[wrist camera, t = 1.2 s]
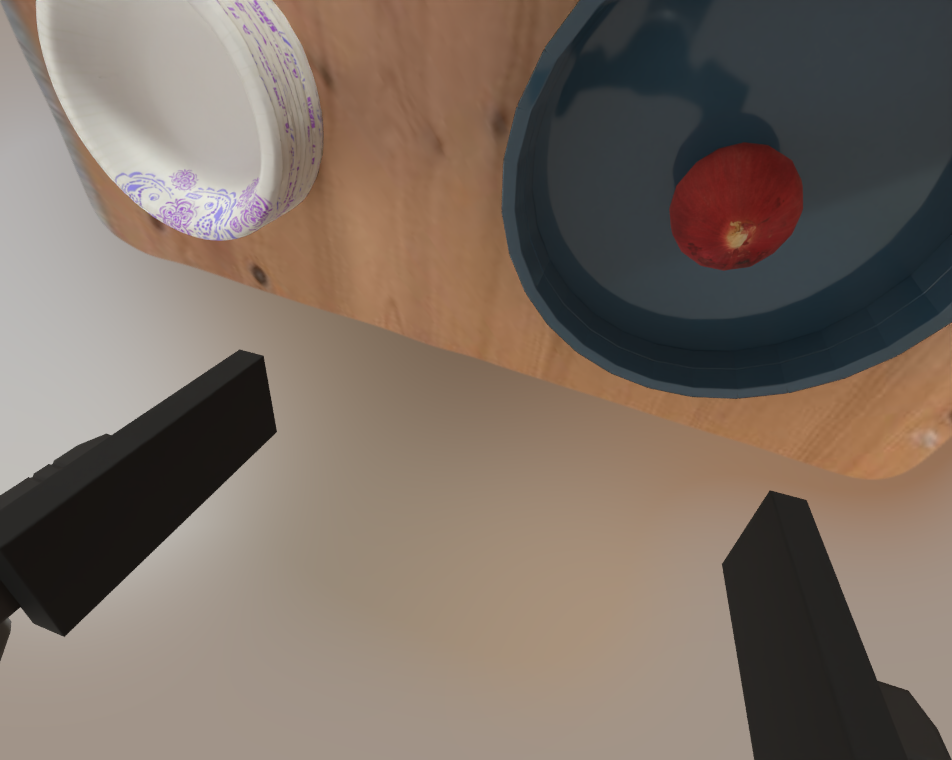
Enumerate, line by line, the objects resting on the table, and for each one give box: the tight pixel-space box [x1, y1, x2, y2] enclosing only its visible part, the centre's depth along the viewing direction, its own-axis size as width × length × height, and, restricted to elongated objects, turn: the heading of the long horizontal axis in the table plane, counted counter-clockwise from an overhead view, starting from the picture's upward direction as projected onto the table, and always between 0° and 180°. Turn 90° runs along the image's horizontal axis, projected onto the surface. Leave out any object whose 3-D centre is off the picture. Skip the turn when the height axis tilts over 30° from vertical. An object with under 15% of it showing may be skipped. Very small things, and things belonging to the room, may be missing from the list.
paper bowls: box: [36, 0, 324, 240], centre depth 29 cm, size 15×15×8 cm
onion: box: [669, 142, 803, 270], centre depth 23 cm, size 6×6×8 cm
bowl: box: [502, 0, 952, 399], centre depth 25 cm, size 24×24×4 cm
